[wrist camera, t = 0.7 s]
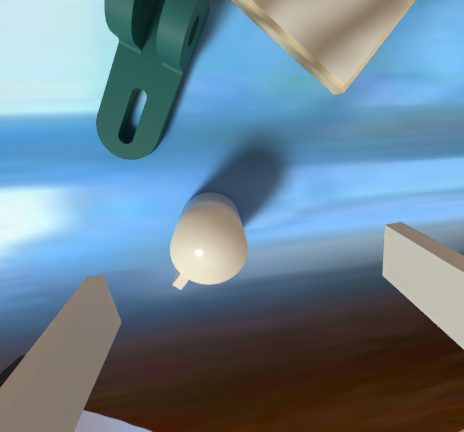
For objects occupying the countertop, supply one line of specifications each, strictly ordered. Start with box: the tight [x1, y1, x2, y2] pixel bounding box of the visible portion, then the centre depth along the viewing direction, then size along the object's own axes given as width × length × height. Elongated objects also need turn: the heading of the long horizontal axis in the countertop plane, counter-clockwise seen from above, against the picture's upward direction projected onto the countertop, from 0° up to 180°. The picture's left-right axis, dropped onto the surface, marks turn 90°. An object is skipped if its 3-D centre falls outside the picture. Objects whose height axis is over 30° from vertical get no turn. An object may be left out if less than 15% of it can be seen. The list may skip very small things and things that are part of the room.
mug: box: [170, 192, 248, 290], centre depth 32 cm, size 8×11×9 cm
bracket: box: [96, 0, 209, 160], centre depth 26 cm, size 18×7×8 cm, turn 155°
